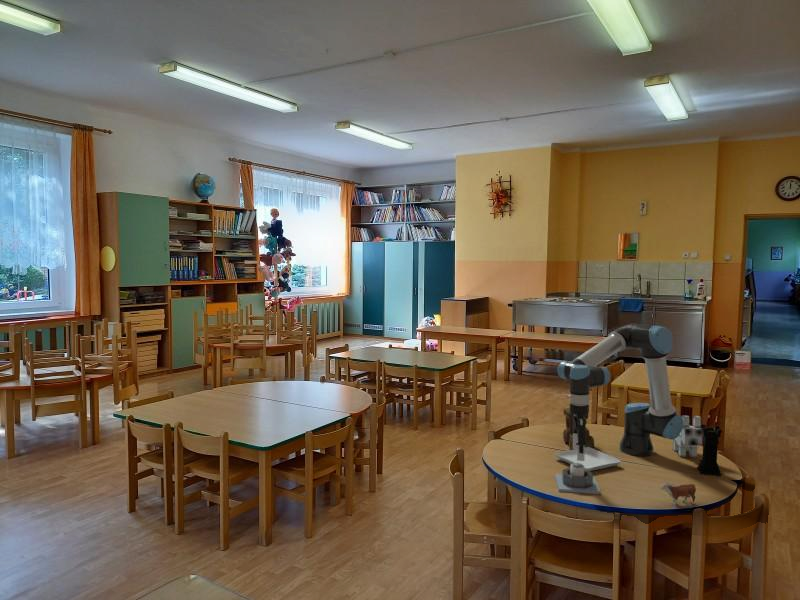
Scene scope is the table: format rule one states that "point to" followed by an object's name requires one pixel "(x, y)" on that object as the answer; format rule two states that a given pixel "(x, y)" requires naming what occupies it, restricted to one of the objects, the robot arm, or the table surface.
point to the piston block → (576, 471)
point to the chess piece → (710, 451)
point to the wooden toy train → (569, 431)
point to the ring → (577, 479)
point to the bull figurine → (680, 491)
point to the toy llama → (688, 437)
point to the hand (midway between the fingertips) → (578, 454)
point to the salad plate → (589, 459)
